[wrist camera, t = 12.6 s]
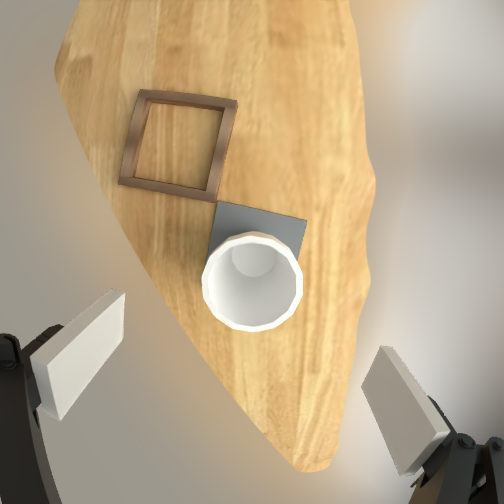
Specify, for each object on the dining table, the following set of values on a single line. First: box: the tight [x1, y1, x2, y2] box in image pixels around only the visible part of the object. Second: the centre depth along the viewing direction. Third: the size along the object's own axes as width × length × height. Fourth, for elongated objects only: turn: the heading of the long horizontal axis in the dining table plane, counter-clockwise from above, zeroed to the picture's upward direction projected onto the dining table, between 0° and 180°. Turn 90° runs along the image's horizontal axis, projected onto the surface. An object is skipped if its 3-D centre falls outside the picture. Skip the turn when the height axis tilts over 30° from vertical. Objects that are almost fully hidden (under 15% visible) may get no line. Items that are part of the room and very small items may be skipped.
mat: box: [205, 201, 307, 267], centre depth 40 cm, size 12×12×1 cm
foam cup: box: [201, 231, 303, 332], centre depth 33 cm, size 10×9×13 cm
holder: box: [118, 89, 238, 203], centre depth 36 cm, size 13×13×2 cm
